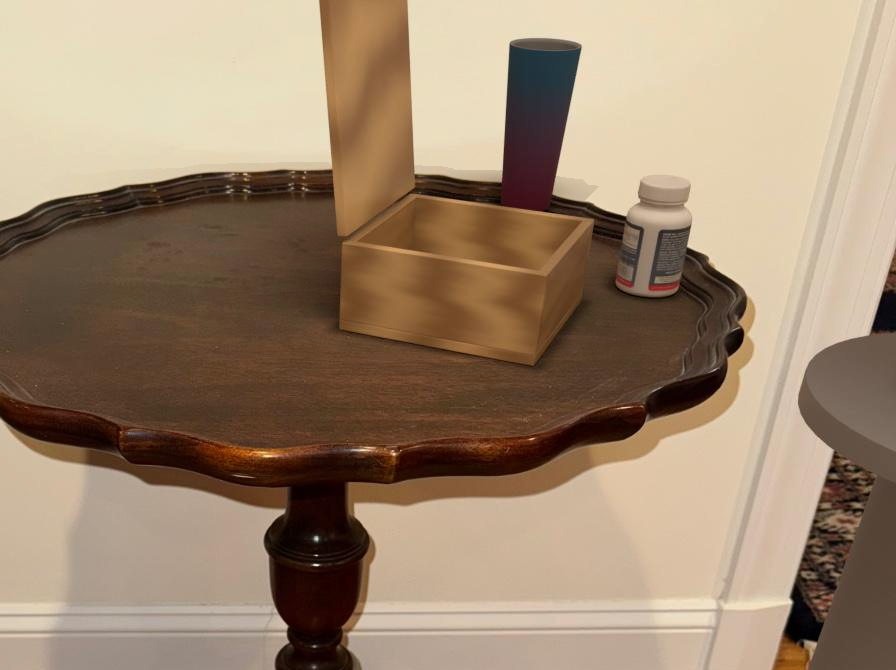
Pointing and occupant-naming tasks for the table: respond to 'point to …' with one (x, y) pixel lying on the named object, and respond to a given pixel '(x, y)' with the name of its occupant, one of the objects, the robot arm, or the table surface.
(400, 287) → the chest
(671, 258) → the pill bottle
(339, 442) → the table surface
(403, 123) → the lid
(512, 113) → the cup
